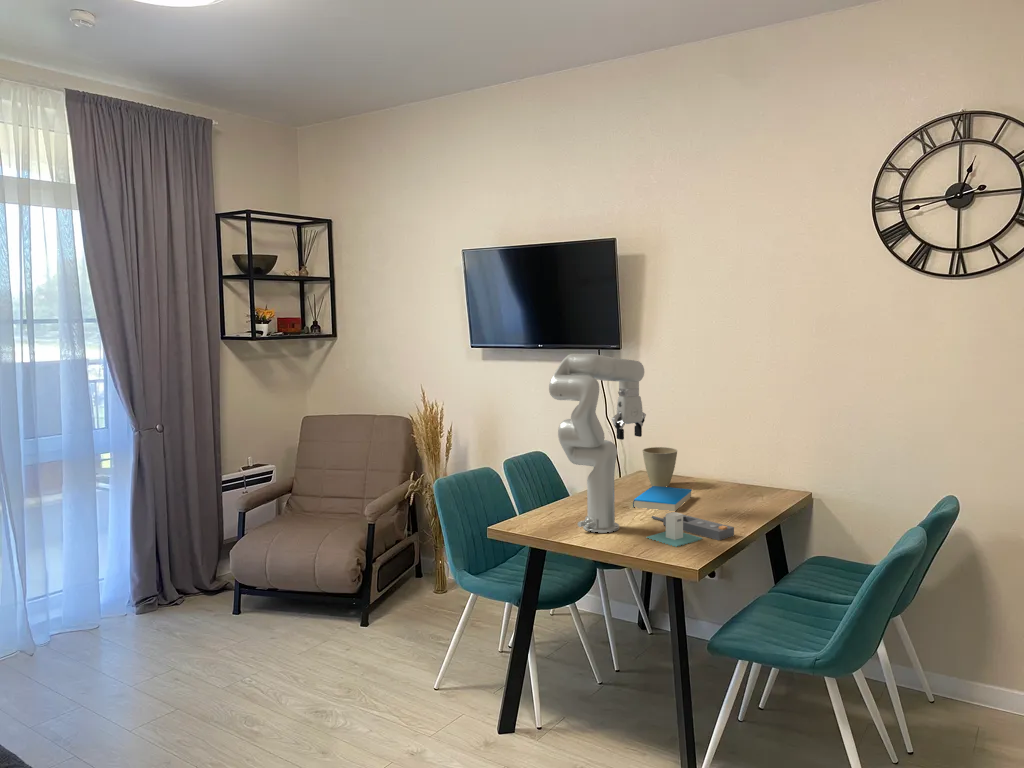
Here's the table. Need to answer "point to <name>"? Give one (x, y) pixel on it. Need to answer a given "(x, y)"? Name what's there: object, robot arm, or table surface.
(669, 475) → the plant pot
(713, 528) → the power strip
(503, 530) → the table surface
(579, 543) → the table surface
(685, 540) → the mat
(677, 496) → the book
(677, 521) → the charger plug
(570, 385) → the robot arm
